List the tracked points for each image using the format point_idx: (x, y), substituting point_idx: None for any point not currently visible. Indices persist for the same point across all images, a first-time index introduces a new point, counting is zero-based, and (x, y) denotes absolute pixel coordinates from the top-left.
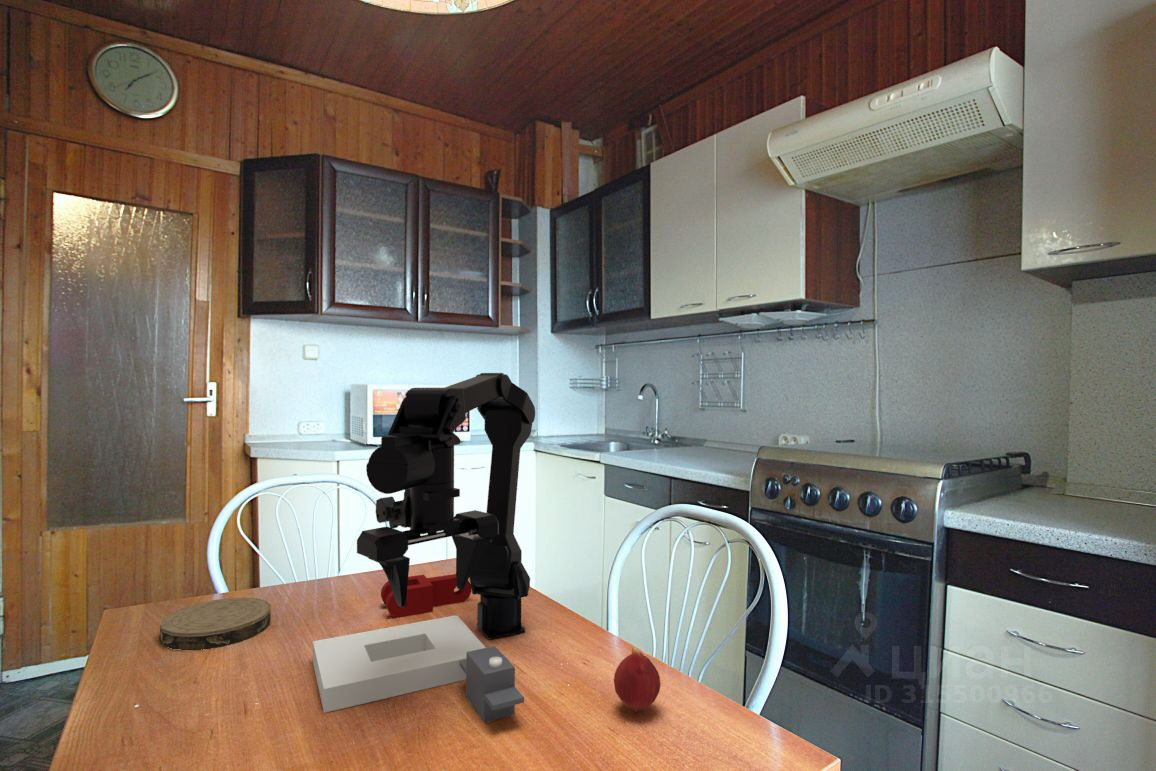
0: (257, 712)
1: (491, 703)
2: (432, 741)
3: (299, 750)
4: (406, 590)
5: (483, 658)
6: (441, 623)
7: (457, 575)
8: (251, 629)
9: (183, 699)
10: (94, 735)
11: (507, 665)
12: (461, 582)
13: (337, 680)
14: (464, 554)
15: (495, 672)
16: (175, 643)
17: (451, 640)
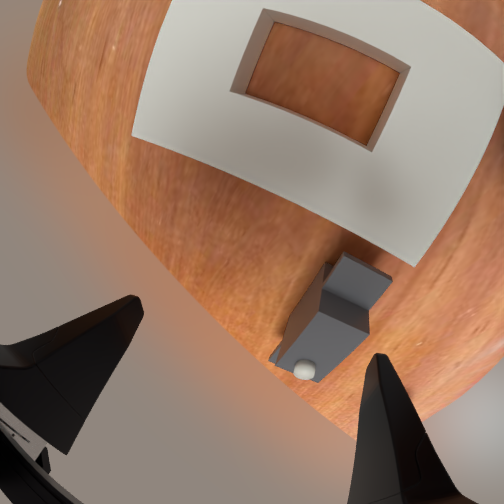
0: (107, 72)
1: (270, 358)
2: (224, 292)
3: (117, 189)
4: (114, 366)
5: (315, 343)
6: (470, 64)
7: (375, 398)
8: None
9: (79, 4)
10: (36, 45)
11: (316, 375)
12: (364, 393)
13: (153, 121)
14: (365, 500)
15: (290, 371)
16: None
17: (424, 152)
